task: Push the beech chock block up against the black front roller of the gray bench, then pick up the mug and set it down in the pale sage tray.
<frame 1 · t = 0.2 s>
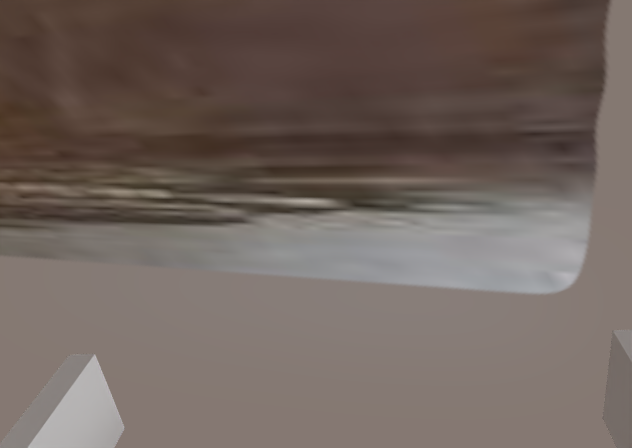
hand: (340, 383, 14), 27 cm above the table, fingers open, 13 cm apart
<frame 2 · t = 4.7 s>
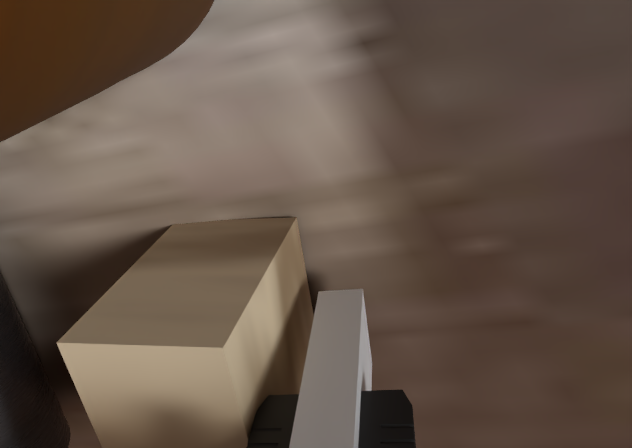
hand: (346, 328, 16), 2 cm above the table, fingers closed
chock: (253, 300, 18), on the table, tilted 7°, touching gripper
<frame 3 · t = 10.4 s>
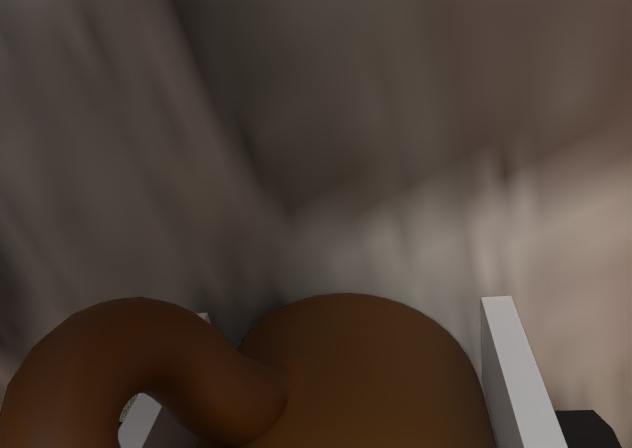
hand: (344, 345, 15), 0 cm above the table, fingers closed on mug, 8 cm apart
mug: (314, 330, 16), on the table, touching gripper
when the fingers open (3 cm above the table, at t = 15.6 s): mug drops 2 cm, resting on tray.
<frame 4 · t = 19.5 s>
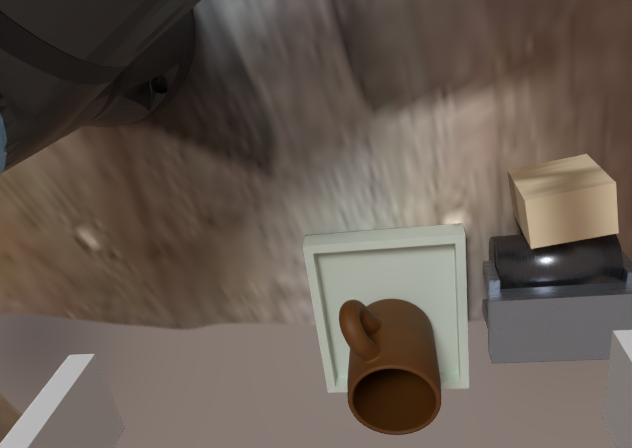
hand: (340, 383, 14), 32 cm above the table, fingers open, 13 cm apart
tray: (389, 308, 51), on the table
mug: (381, 310, 50), resting on tray
gray bench: (541, 281, 48), on the table
chock: (548, 184, 44), on the table
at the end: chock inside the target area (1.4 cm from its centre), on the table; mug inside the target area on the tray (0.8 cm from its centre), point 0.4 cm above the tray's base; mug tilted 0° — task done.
